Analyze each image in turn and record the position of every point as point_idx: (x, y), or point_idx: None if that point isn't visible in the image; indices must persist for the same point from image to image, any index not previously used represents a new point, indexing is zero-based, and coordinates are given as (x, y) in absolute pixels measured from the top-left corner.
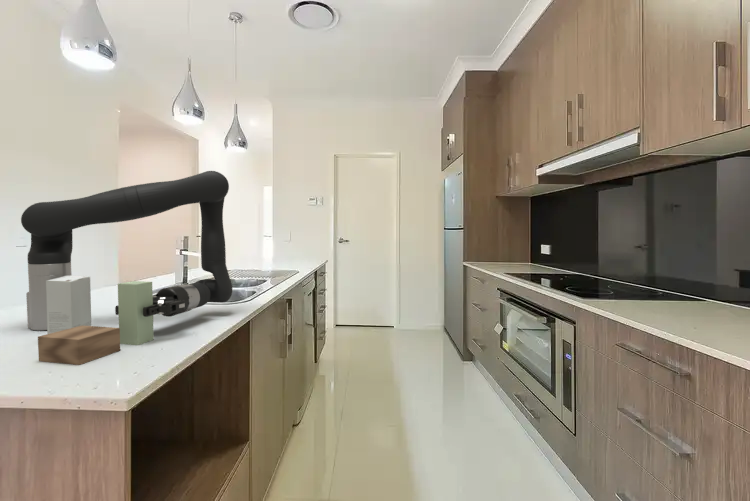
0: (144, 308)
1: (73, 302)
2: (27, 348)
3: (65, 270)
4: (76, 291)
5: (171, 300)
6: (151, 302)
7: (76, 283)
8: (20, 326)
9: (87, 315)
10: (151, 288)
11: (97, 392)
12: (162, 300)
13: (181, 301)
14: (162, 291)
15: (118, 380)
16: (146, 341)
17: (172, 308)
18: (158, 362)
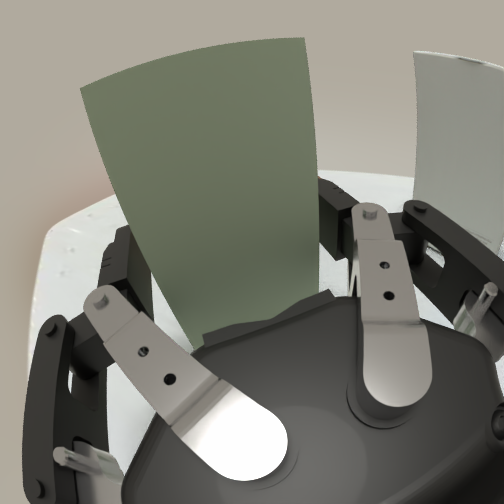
0: (126, 226)
1: (423, 125)
2: (395, 188)
3: None
4: (440, 94)
5: (140, 484)
6: (149, 258)
7: (443, 67)
8: None
9: (486, 214)
10: (102, 149)
11: (80, 215)
12: (111, 336)
13: (24, 454)
14: (491, 495)
15: (78, 232)
16: None
17: (86, 410)
18: (61, 285)
